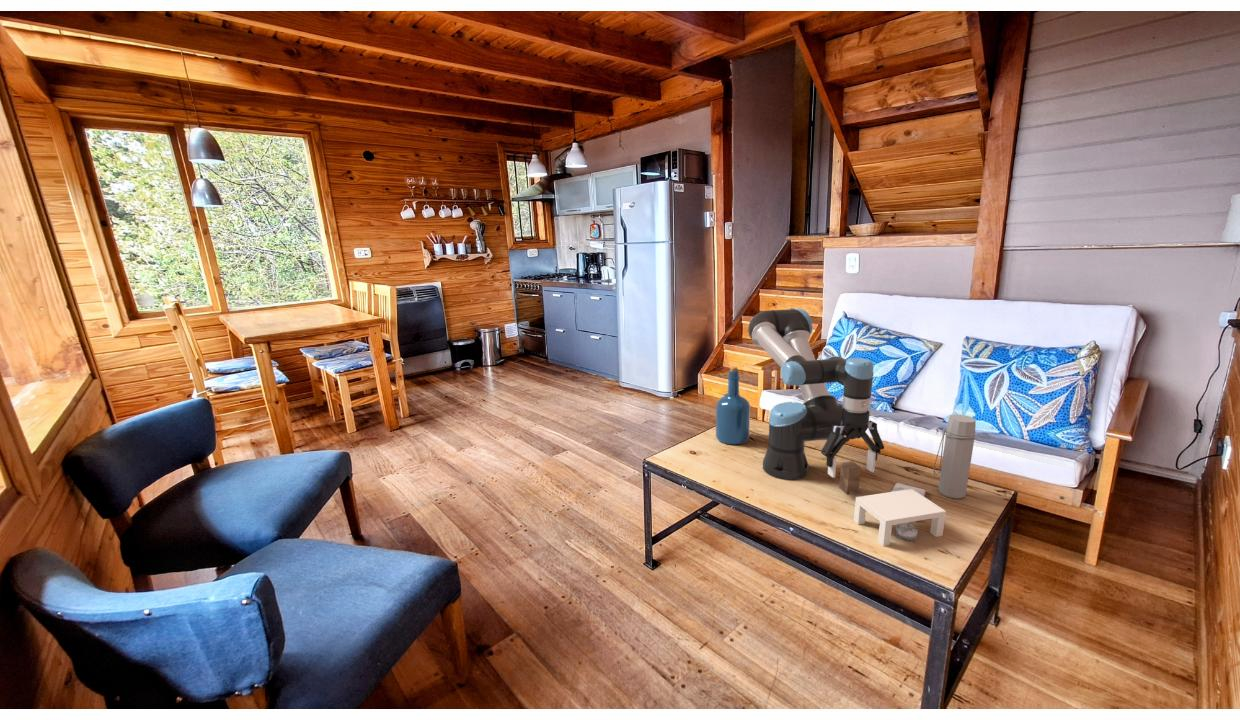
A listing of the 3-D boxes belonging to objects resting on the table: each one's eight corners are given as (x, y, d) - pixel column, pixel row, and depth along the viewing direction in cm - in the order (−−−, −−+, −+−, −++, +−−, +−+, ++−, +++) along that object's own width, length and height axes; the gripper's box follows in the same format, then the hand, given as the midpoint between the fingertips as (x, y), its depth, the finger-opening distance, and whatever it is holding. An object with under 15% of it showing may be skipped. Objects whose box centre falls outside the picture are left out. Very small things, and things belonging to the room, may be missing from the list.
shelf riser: (853, 520, 139) (855, 497, 137) (908, 511, 142) (911, 488, 140) (883, 546, 128) (885, 521, 126) (942, 535, 131) (946, 511, 129)
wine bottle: (751, 446, 189) (754, 372, 182) (717, 445, 191) (718, 372, 183) (746, 431, 202) (748, 362, 195) (714, 431, 204) (714, 362, 196)
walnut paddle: (839, 488, 157) (841, 462, 154) (850, 486, 157) (852, 461, 155) (882, 523, 138) (885, 494, 135) (895, 521, 138) (898, 492, 136)
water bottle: (968, 493, 151) (980, 417, 144) (962, 503, 145) (974, 425, 139) (934, 483, 157) (944, 410, 151) (927, 492, 152) (937, 417, 146)
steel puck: (891, 532, 134) (892, 524, 133) (907, 529, 135) (908, 521, 134) (904, 542, 129) (905, 534, 128) (921, 540, 130) (922, 532, 129)
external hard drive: (886, 503, 148) (895, 486, 157) (917, 512, 143) (925, 494, 152) (887, 498, 147) (896, 482, 157) (918, 507, 142) (925, 489, 151)
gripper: (826, 417, 142) (821, 483, 147) (901, 408, 146) (894, 473, 152) (811, 409, 149) (808, 472, 154) (883, 401, 154) (877, 462, 159)
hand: (850, 473), depth 153 cm, fingers open, 13 cm apart
